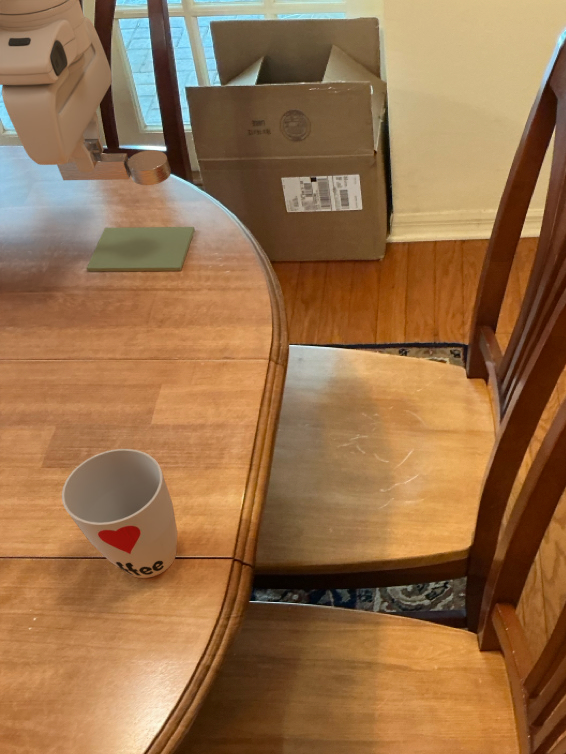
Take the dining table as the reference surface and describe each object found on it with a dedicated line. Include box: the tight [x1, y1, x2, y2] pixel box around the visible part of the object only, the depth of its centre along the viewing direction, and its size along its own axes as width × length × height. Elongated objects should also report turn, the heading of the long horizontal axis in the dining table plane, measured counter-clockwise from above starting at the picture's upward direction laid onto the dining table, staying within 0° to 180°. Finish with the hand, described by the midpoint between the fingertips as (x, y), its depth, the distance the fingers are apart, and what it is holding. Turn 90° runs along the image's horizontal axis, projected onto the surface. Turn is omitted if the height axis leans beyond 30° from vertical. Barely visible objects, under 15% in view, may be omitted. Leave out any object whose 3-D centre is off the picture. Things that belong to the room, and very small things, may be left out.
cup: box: [61, 448, 178, 579], centre depth 67 cm, size 8×8×10 cm
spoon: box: [56, 149, 172, 186], centre depth 90 cm, size 13×5×2 cm, turn 88°
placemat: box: [86, 226, 196, 272], centre depth 99 cm, size 12×9×1 cm
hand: (92, 162), depth 90 cm, fingers closed on spoon, 2 cm apart
